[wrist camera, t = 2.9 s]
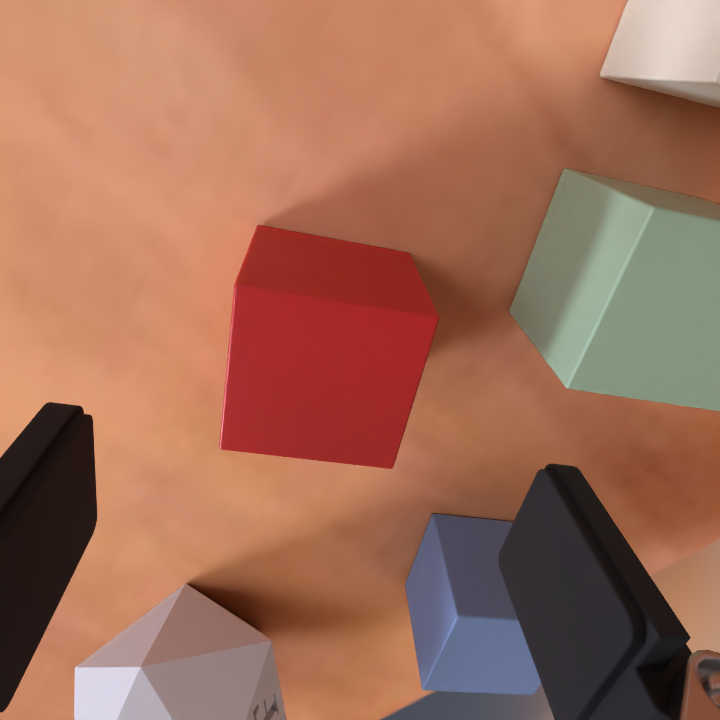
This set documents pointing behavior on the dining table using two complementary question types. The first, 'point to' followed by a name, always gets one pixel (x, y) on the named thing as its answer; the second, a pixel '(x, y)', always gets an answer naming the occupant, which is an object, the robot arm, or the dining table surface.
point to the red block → (324, 349)
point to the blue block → (466, 611)
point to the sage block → (626, 291)
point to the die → (182, 667)
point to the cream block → (668, 49)
